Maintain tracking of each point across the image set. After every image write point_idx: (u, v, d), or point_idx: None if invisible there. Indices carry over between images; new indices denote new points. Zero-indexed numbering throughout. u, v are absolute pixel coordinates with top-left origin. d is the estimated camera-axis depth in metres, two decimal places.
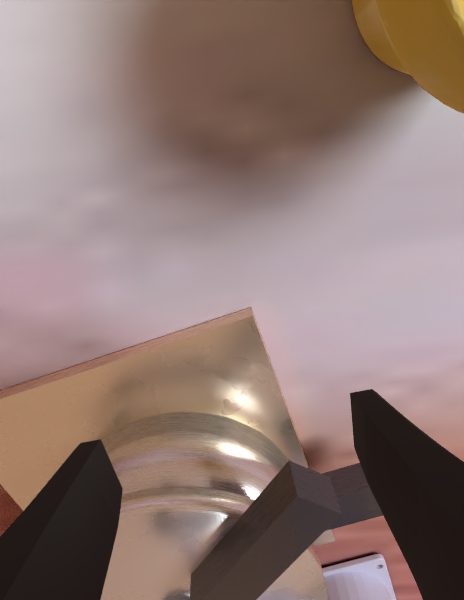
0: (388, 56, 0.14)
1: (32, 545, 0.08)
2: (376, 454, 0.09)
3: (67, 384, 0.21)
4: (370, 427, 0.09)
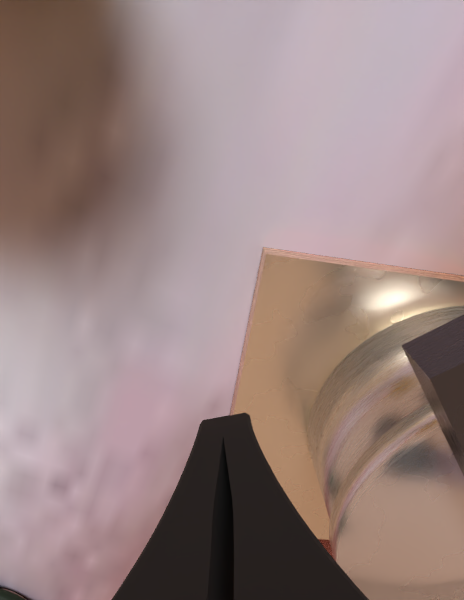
0: None
1: (208, 514, 0.07)
2: None
3: None
4: None
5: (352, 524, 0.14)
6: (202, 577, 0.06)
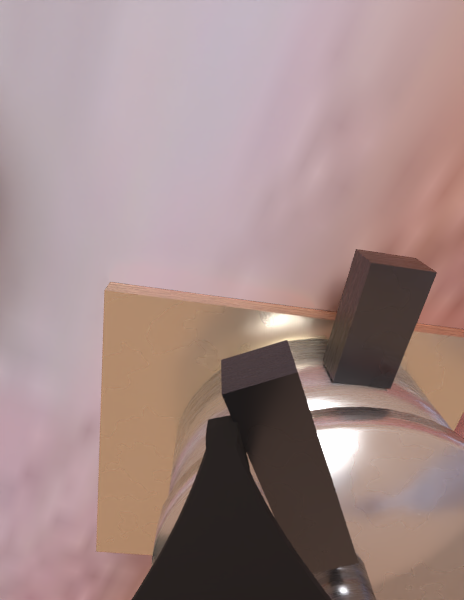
0: None
1: (227, 511, 0.07)
2: None
3: (106, 466, 0.22)
4: None
5: (167, 531, 0.14)
6: (225, 573, 0.06)
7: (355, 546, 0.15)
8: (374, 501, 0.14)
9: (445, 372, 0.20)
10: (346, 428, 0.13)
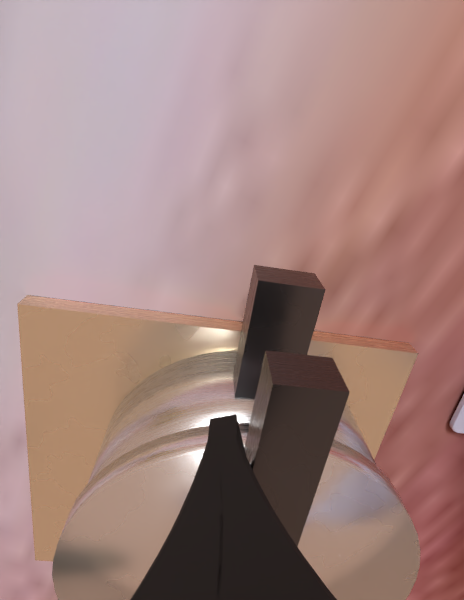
0: None
1: (226, 511, 0.07)
2: None
3: (37, 477, 0.22)
4: None
5: (108, 493, 0.13)
6: (223, 573, 0.06)
7: None
8: (312, 531, 0.14)
9: (368, 383, 0.20)
10: (328, 457, 0.13)
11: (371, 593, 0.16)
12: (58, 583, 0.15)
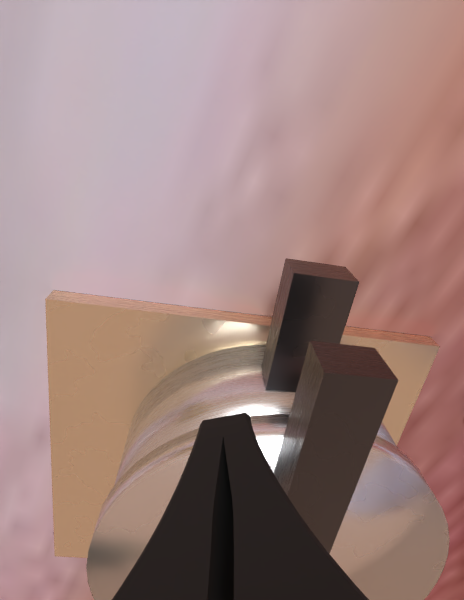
0: None
1: (208, 514, 0.07)
2: None
3: (59, 472, 0.22)
4: None
5: (147, 484, 0.13)
6: (202, 577, 0.06)
7: None
8: (344, 521, 0.15)
9: None
10: None
11: (399, 583, 0.17)
12: (92, 575, 0.15)
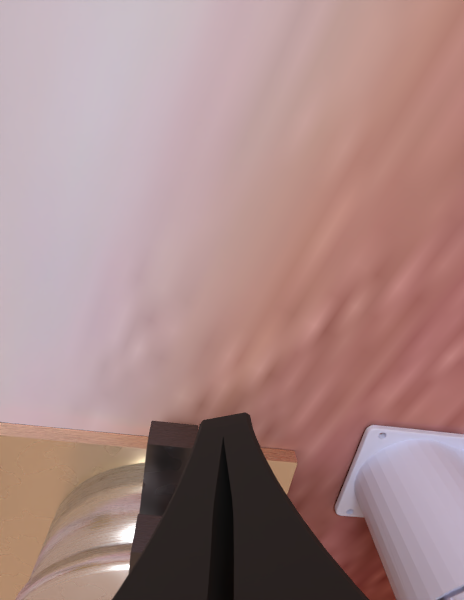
0: None
1: (208, 514, 0.07)
2: None
3: None
4: None
5: (37, 598, 0.18)
6: (202, 577, 0.06)
7: None
8: None
9: None
10: None
11: None
12: None
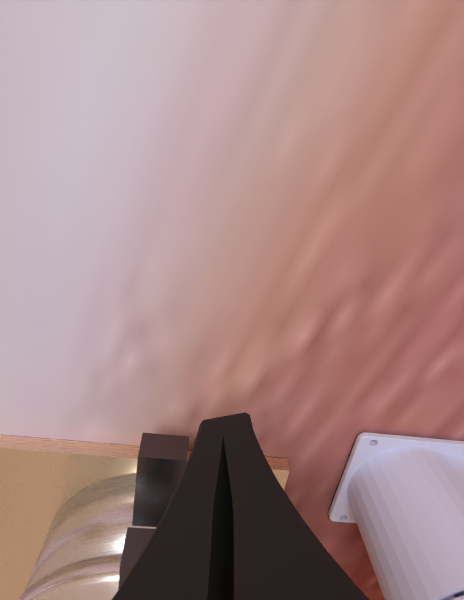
0: None
1: (208, 514, 0.07)
2: None
3: None
4: None
5: None
6: (202, 577, 0.06)
7: None
8: None
9: None
10: None
11: None
12: None
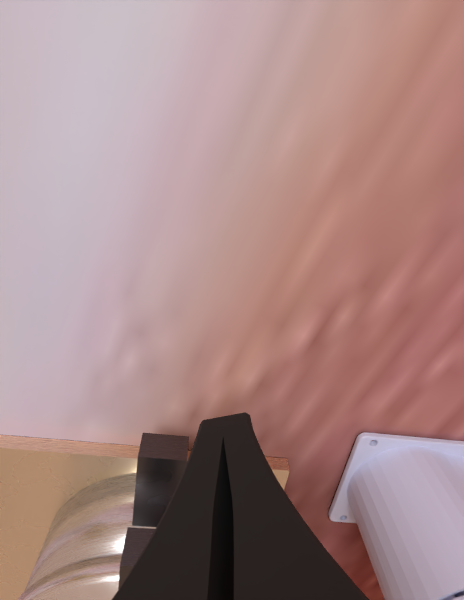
0: None
1: (208, 514, 0.07)
2: None
3: None
4: None
5: None
6: (202, 577, 0.06)
7: None
8: None
9: None
10: None
11: None
12: None
